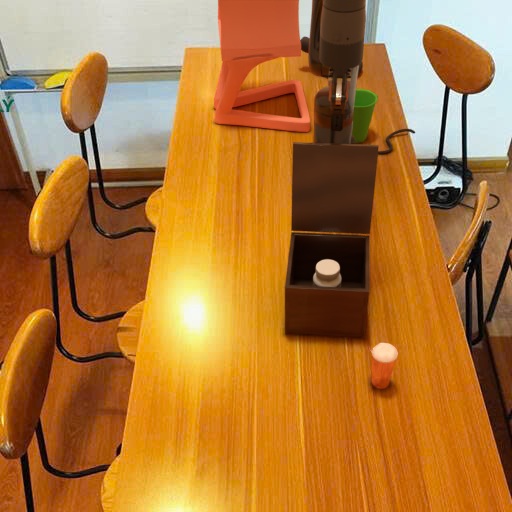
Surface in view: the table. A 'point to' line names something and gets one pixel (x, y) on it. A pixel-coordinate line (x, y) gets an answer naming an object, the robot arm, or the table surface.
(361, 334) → the chest
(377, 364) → the milkshake
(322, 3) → the robot arm
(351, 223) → the lid
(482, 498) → the table surface
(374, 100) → the cup
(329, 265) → the pill bottle
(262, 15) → the chair
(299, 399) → the table surface
